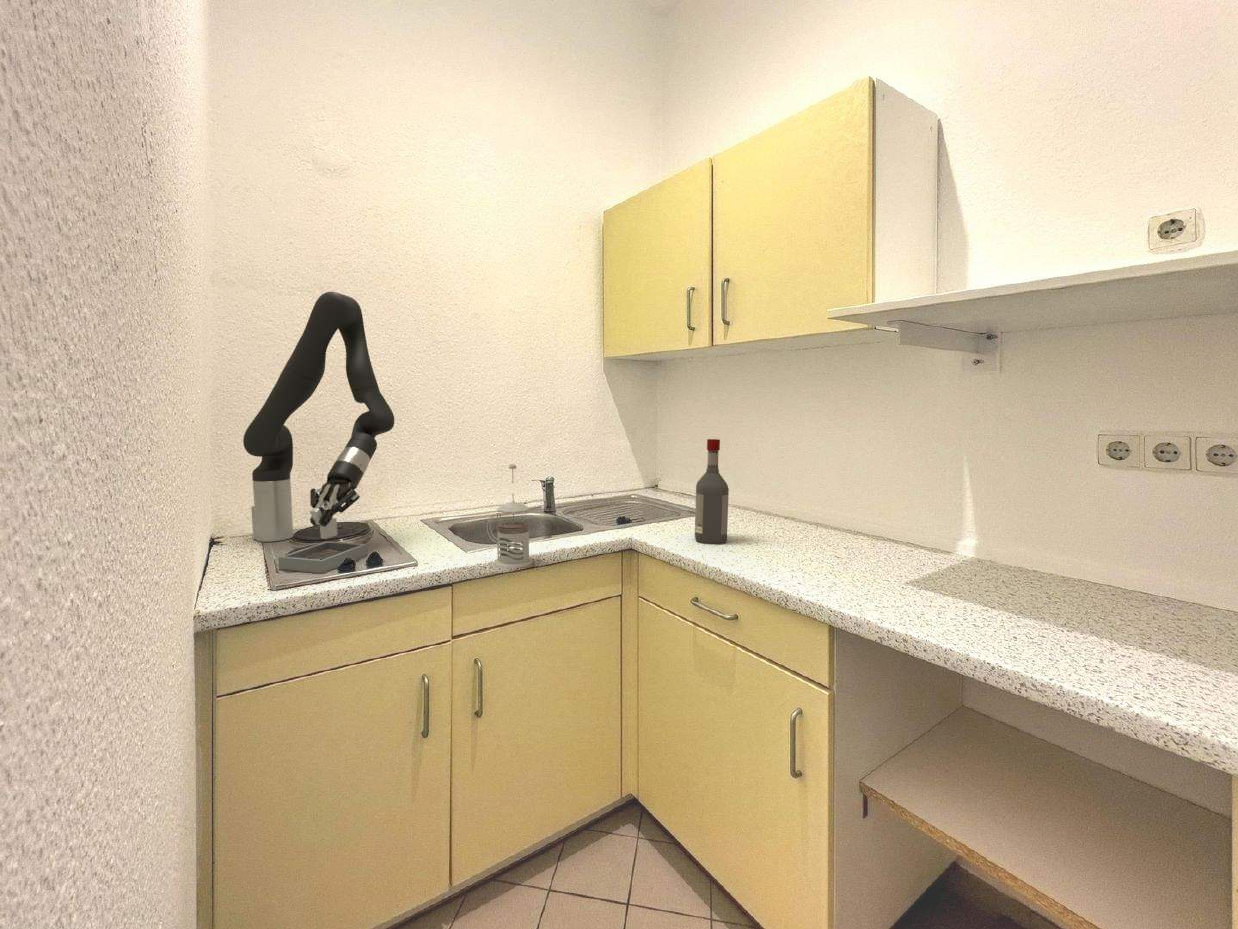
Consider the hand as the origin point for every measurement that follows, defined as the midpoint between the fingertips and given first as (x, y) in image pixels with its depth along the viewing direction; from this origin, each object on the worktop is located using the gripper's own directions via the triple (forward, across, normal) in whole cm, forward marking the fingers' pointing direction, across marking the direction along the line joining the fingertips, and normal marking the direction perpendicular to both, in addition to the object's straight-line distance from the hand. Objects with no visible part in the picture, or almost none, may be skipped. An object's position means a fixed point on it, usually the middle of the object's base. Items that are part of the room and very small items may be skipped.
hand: (317, 524), depth 137 cm
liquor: (-27, +92, +44) cm, 105 cm away
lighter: (+1, 0, +4) cm, 5 cm away
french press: (-2, +44, +18) cm, 47 cm away
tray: (+6, 0, +8) cm, 10 cm away
